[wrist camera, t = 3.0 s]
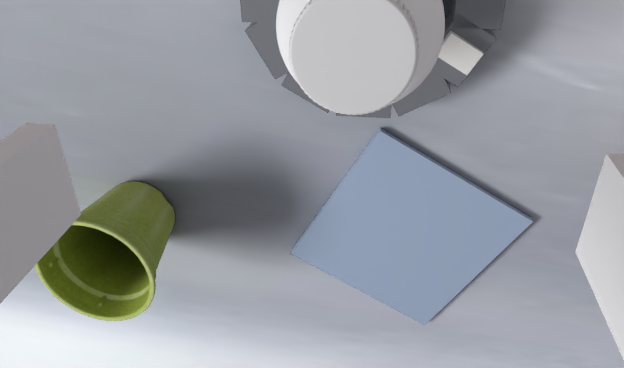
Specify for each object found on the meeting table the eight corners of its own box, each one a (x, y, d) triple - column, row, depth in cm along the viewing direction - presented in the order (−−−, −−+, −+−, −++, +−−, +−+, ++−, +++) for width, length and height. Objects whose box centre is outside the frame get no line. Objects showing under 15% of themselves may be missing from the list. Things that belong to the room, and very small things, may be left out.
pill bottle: (375, -115, 31) (357, -100, 18) (460, -12, 33) (497, 66, 21) (284, -17, 35) (216, 53, 22) (366, 71, 37) (349, 180, 24)
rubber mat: (531, 217, 41) (533, 221, 41) (424, 321, 48) (424, 325, 48) (380, 127, 39) (380, 130, 38) (291, 249, 46) (290, 253, 46)
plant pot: (91, 237, 49) (36, 303, 41) (88, 150, 44) (26, 208, 36) (189, 262, 49) (151, 333, 41) (197, 178, 44) (157, 242, 36)
